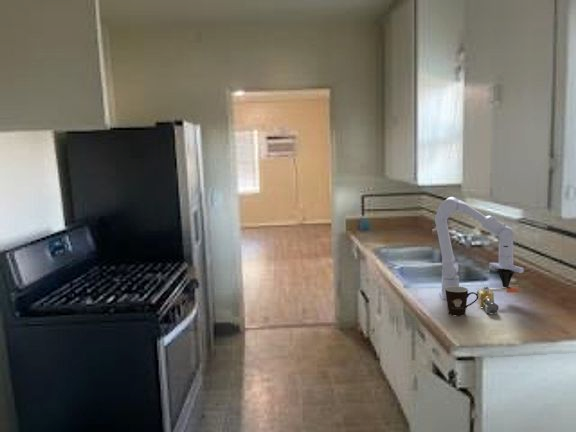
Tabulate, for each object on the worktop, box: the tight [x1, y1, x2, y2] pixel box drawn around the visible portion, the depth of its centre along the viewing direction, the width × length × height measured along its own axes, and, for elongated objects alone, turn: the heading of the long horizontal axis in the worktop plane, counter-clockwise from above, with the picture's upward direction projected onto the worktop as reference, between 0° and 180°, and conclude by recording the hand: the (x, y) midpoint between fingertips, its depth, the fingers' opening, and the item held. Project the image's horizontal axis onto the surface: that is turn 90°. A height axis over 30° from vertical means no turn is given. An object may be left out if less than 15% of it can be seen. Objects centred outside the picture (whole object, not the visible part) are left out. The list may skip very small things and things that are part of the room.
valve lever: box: [482, 286, 520, 293], centre depth 211 cm, size 14×3×2 cm, turn 82°
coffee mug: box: [445, 285, 478, 317], centre depth 204 cm, size 12×9×10 cm
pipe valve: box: [476, 288, 499, 315], centre depth 210 cm, size 20×5×6 cm, turn 172°
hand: (505, 286), depth 217 cm, fingers closed
